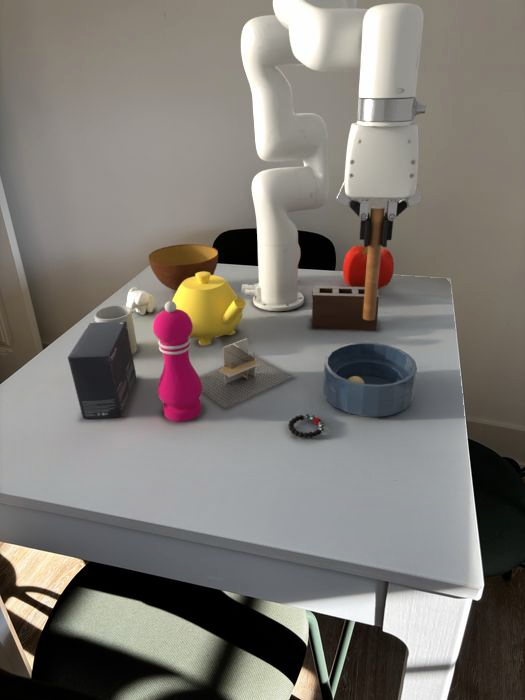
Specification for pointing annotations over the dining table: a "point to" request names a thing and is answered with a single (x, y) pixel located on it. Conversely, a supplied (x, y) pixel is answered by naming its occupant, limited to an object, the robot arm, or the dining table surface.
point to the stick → (373, 262)
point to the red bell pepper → (357, 267)
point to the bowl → (182, 263)
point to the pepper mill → (177, 365)
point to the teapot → (209, 306)
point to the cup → (118, 314)
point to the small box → (103, 369)
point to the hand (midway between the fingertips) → (374, 243)
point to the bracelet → (310, 434)
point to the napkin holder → (240, 376)
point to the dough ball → (356, 379)
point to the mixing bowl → (369, 379)
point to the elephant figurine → (140, 301)
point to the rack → (340, 308)
